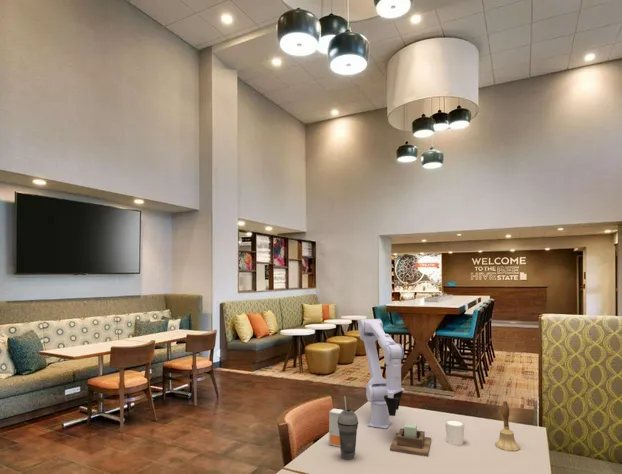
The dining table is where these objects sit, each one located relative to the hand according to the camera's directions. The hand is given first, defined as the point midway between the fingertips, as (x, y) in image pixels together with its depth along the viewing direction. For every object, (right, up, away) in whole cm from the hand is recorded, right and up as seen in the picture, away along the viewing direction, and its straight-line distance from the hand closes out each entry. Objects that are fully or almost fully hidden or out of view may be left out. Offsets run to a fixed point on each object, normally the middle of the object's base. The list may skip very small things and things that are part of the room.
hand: (393, 412), depth 161 cm
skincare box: (-22, -9, -8) cm, 25 cm away
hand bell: (+40, -9, -8) cm, 42 cm away
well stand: (+5, -9, -8) cm, 13 cm away
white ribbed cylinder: (+22, -9, -5) cm, 24 cm away
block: (+5, -8, -8) cm, 12 cm away
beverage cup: (-19, -8, -18) cm, 28 cm away
